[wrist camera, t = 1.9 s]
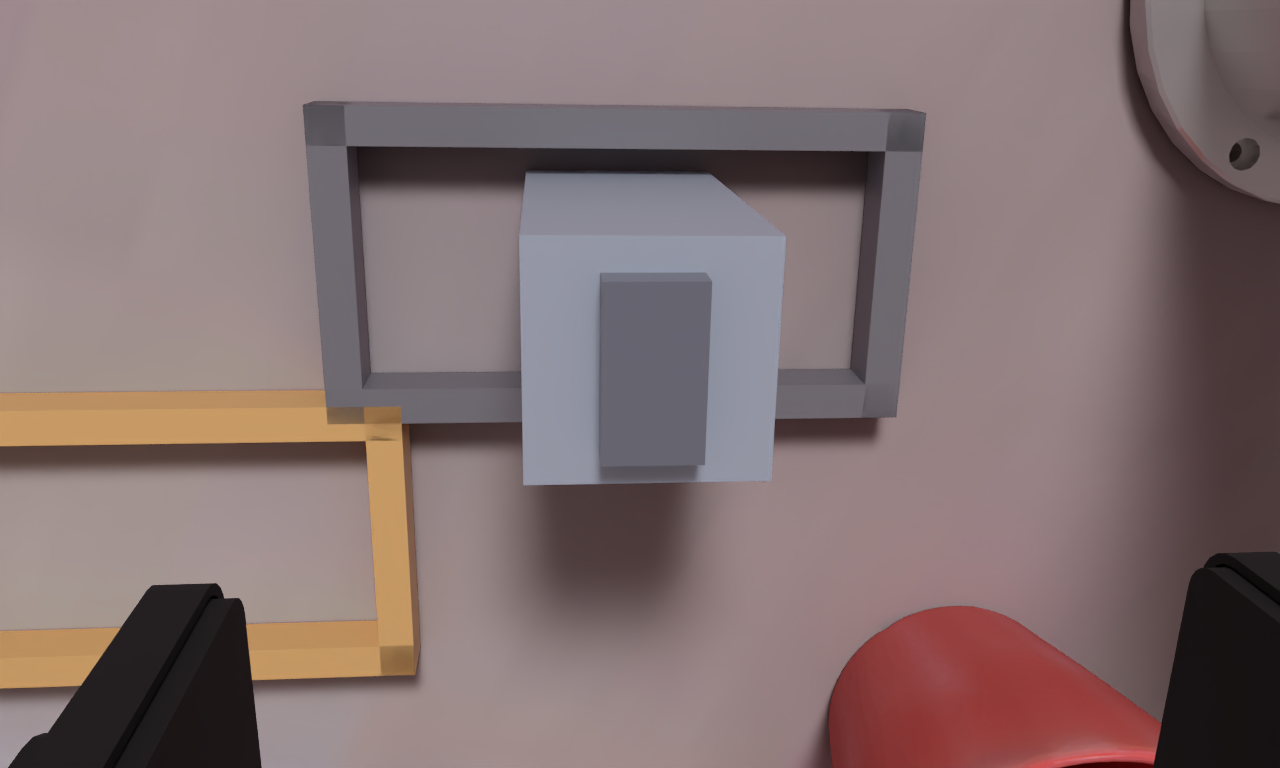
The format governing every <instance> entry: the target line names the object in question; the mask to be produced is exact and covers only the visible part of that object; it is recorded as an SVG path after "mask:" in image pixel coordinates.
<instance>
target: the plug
mask: <svg viewBox="0 0 1280 768" xmlns="http://www.w3.org/2000/svg"><path fill="white" fill-rule="evenodd" d="M785 246H786V235H784V234H783V233H782V232H781V231H780V230H778V229H777V228H776V227H775V226H773V225H772V224H771V223H770V222H769V221H767V220H766V219H765V218H764V217H762V216H761V215H760V214H759V213H758V212H756V211H755V210H754V209H753V208H751V207H750V206H749V205H748V204H747V203H745V202H744V201H743V200H742V199H741V198H739V197H738V196H737V195H736V194H734V193H733V192H732V191H731V190H730V189H728V188H727V187H726V186H725V185H723V184H722V183H721V182H720V181H719V180H717V179H716V178H715V177H714V176H712V175H711V174H710V173H709V172H696V171H569V170H526V177H525V186H524V195H523V204H522V213H521V222H520V232H519V259H520V318H521V377H522V436H523V485H571V484H626V483H681V482H735V481H771V476H772V460H773V443H774V427H775V411H776V394H777V378H778V361H779V345H780V328H781V312H782V296H783V279H784V263H785Z"/></svg>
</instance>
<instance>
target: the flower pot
mask: <svg viewBox="0 0 1280 768" xmlns="http://www.w3.org/2000/svg"><path fill="white" fill-rule="evenodd" d="M1160 729H1161V723H1160V722H1159V721H1157V720H1156V719H1155V718H1153V717H1152V716H1150V715H1149V714H1148V713H1146V712H1145V711H1144V710H1142V709H1141V708H1140V707H1138V706H1137V705H1136V704H1134V703H1133V702H1131V701H1130V700H1129V699H1127V698H1126V697H1125V696H1123V695H1122V694H1121V693H1119V692H1118V691H1116V690H1115V689H1114V688H1112V687H1111V686H1110V685H1108V684H1107V683H1105V682H1104V681H1103V680H1101V679H1100V678H1098V677H1097V676H1096V675H1094V674H1093V673H1091V672H1090V671H1088V670H1087V669H1086V668H1084V667H1083V666H1081V665H1080V664H1078V663H1077V662H1075V661H1074V660H1072V659H1071V658H1069V657H1068V656H1066V655H1065V654H1063V653H1062V652H1061V651H1059V650H1058V649H1056V648H1055V647H1053V646H1052V645H1050V644H1049V643H1047V642H1046V641H1044V640H1043V639H1041V638H1040V637H1038V636H1037V635H1035V634H1034V633H1033V632H1031V631H1030V630H1028V629H1027V628H1025V627H1024V626H1023V625H1021V624H1020V623H1018V622H1016V621H1015V620H1013V619H1011V618H1009V617H1007V616H1004V615H1002V614H999V613H996V612H993V611H990V610H986V609H982V608H977V607H969V606H949V607H939V608H933V609H928V610H924V611H921V612H917V613H914V614H912V615H909V616H906V617H904V618H903V619H901V620H899V621H897V622H895V623H894V624H893V625H891V626H890V627H889V628H887V629H885V630H883V631H881V632H879V633H877V634H876V635H874V636H873V637H872V638H871V639H869V640H868V641H867V642H866V643H865V644H864V645H863V646H862V647H861V648H860V649H859V650H858V651H857V652H856V653H855V654H854V656H853V657H852V658H851V659H850V661H849V662H848V664H847V665H846V667H845V668H844V670H843V672H842V673H841V675H840V677H839V679H838V681H837V684H836V686H835V689H834V692H833V695H832V699H831V704H830V711H829V734H830V746H831V757H832V768H1153V765H1154V760H1155V755H1156V749H1157V744H1158V739H1159V734H1160Z"/></svg>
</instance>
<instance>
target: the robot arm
mask: <svg viewBox="0 0 1280 768" xmlns="http://www.w3.org/2000/svg"><path fill="white" fill-rule="evenodd" d="M1130 31H1131V37H1132V43H1133V49H1134V56H1135V62H1136V68H1137V72H1138V75H1139V78H1140V80H1141V83H1142V86H1143V88H1144V91H1145V94H1146V97H1147V99H1148V102H1149V105H1150V107H1151V110H1152V111H1153V113H1154V115H1155V116H1156V118H1157V119H1158V121H1159V122H1160V124H1161V126H1162V127H1163V129H1164V130H1165V132H1166V134H1167V135H1168V137H1169V138H1170V140H1171V141H1172V143H1173V144H1174V145H1175V146H1176V147H1177V148H1178V149H1179V150H1180V151H1181V152H1182V153H1183V154H1184V155H1185V156H1186V157H1187V158H1188V159H1189V160H1190V161H1191V162H1192V163H1193V164H1194V165H1195V166H1196V167H1197V168H1198V169H1199V170H1200V171H1202V172H1204V173H1205V174H1207V175H1209V176H1210V177H1212V178H1213V179H1215V180H1217V181H1218V182H1220V183H1221V184H1223V185H1225V186H1226V187H1228V188H1230V189H1231V190H1234V191H1237V192H1240V193H1243V194H1246V195H1249V196H1252V197H1255V198H1258V199H1261V200H1264V201H1267V202H1272V203H1277V204H1280V0H1130ZM1231 149H1232V151H1231ZM1230 151H1231V154H1230V156H1229V153H1230ZM8 768H261V758H260V749H259V740H258V730H257V721H256V712H255V703H254V693H253V684H252V675H251V665H250V656H249V647H248V638H247V628H246V619H245V612H244V607H243V604H242V601H241V600H240V599H239V598H229V599H224V596H223V593H222V590H221V588H220V587H219V585H218V584H217V583H213V584H179V585H153V586H151V587H150V588H149V589H148V590H147V591H146V593H145V594H144V595H143V597H142V598H141V600H140V601H139V603H138V604H137V606H136V607H135V608H134V610H133V611H132V613H131V614H130V616H129V617H128V618H127V620H126V621H125V623H124V624H123V626H122V627H121V629H120V630H119V631H118V633H117V634H116V636H115V637H114V639H113V640H112V642H111V643H110V644H109V646H108V647H107V649H106V650H105V652H104V653H103V654H102V656H101V657H100V659H99V660H98V662H97V663H96V665H95V666H94V667H93V669H92V670H91V672H90V673H89V675H88V676H87V677H86V679H85V680H84V682H83V683H82V685H81V686H80V688H79V689H78V690H77V692H76V693H75V695H74V696H73V698H72V699H71V700H70V702H69V703H68V705H67V706H66V708H65V709H64V711H63V712H62V713H61V715H60V716H59V718H58V719H57V721H56V722H55V723H54V725H53V726H52V728H51V729H50V731H49V732H48V733H43V734H40V735H37V736H35V737H33V738H32V739H31V740H30V741H29V742H28V743H27V744H26V745H25V746H24V747H23V748H22V749H21V751H20V752H19V753H18V755H17V756H16V757H15V759H14V760H13V762H12V763H11V764H10V766H9V767H8ZM1153 768H1280V554H1278V553H1276V552H1250V553H1217V554H1215V555H1214V556H1212V557H1210V558H1209V560H1208V561H1207V562H1206V564H1205V565H1204V568H1200V569H1198V570H1197V571H1195V572H1194V574H1193V575H1192V577H1191V579H1190V583H1189V586H1188V591H1187V596H1186V602H1185V607H1184V612H1183V617H1182V622H1181V627H1180V632H1179V637H1178V642H1177V647H1176V653H1175V658H1174V663H1173V668H1172V673H1171V678H1170V683H1169V688H1168V693H1167V698H1166V704H1165V709H1164V714H1163V719H1162V724H1161V729H1160V734H1159V739H1158V744H1157V749H1156V755H1155V760H1154V765H1153Z"/></svg>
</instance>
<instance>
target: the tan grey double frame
mask: <svg viewBox="0 0 1280 768" xmlns="http://www.w3.org/2000/svg"><path fill="white" fill-rule="evenodd" d="M303 114H304V127H305V140H306V153H307V166H308V179H309V192H310V205H311V218H312V231H313V244H314V256H315V269H316V282H317V295H318V308H319V321H320V334H321V347H322V360H323V373H324V386H325V390H285V391H184V392H83V393H0V446H50V445H121V444H192V443H263V442H334V441H366V453H367V468H368V483H369V498H370V514H371V529H372V544H373V559H374V574H375V590H376V605H377V620H374V621H340V622H305V623H270V624H246V628H247V638H248V647H249V656H250V665H251V675H252V680H271V679H302V678H332V677H362V676H392V675H415V673H416V668H417V663H418V658H419V653H420V648H421V646H420V627H419V607H418V588H417V569H416V550H415V530H414V511H413V492H412V473H411V454H410V434H409V424H410V423H489V422H522V377H521V372H432V373H371V369H370V353H369V338H368V322H367V306H366V290H365V274H364V258H363V242H362V226H361V210H360V194H359V178H358V162H357V147H356V146H387V147H489V148H591V149H692V150H794V151H869V154H868V166H867V178H866V190H865V202H864V214H863V226H862V238H861V250H860V262H859V274H858V286H857V298H856V310H855V322H854V334H853V346H852V358H851V369H783V370H778V378H777V394H776V411H775V419H805V418H883V417H896V414H897V404H898V394H899V384H900V373H901V363H902V353H903V343H904V333H905V323H906V313H907V302H908V292H909V282H910V272H911V262H912V252H913V241H914V231H915V221H916V211H917V201H918V191H919V181H920V170H921V160H922V150H923V140H924V130H925V120H926V113H924V112H919V111H914V110H909V109H854V108H779V107H705V106H630V105H556V104H481V103H407V102H333V101H314V102H311V103H307V104H304V105H303ZM120 629H121V628H95V629H60V630H25V631H0V688H30V687H60V686H81V685H82V683H83V682H84V680H85V679H86V677H87V676H88V675H89V673H90V672H91V670H92V669H93V667H94V666H95V665H96V663H97V662H98V660H99V659H100V657H101V656H102V654H103V653H104V652H105V650H106V649H107V647H108V646H109V644H110V643H111V642H112V640H113V639H114V637H115V636H116V634H117V633H118V631H119V630H120Z"/></svg>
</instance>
